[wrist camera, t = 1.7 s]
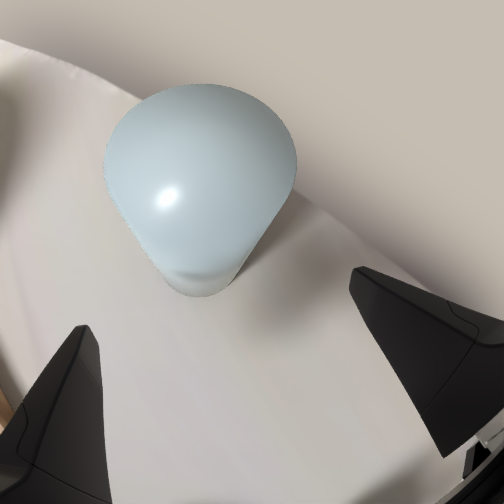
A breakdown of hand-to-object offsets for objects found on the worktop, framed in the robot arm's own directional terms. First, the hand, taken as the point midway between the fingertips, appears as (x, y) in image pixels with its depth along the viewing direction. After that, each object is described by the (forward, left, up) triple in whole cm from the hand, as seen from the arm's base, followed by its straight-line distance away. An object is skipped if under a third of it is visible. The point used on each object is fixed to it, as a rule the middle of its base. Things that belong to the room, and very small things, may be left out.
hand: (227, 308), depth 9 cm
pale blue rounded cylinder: (+4, -2, -11) cm, 12 cm away
